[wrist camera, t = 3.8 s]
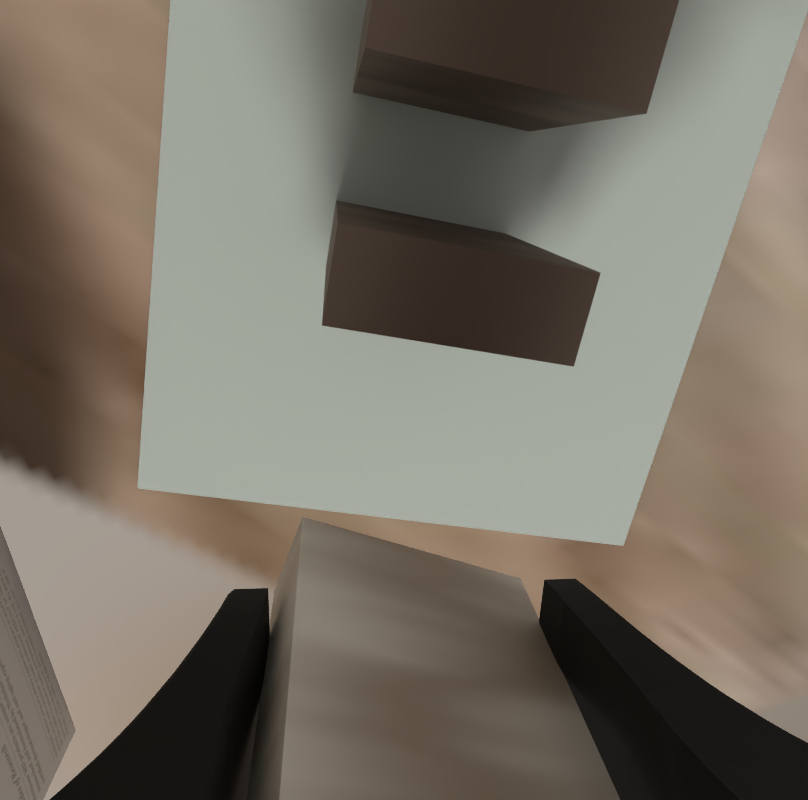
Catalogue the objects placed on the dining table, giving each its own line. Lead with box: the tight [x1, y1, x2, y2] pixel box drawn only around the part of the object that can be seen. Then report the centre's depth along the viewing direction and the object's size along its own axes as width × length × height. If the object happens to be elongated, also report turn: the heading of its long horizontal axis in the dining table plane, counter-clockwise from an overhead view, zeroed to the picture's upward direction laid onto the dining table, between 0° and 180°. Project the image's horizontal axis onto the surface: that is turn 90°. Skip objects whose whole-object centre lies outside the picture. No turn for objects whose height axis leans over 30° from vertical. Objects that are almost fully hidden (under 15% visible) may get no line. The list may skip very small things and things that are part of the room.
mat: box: [138, 0, 808, 546], centre depth 17 cm, size 16×26×1 cm, turn 169°
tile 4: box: [322, 200, 601, 367], centre depth 15 cm, size 5×2×7 cm, turn 79°
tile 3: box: [353, 0, 679, 132], centre depth 14 cm, size 5×2×7 cm, turn 79°
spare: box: [247, 517, 620, 800], centre depth 10 cm, size 5×2×7 cm, turn 69°
